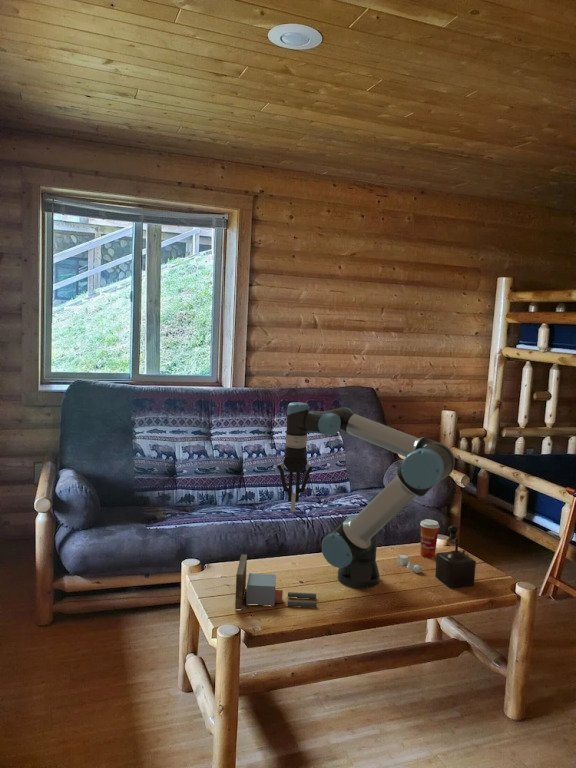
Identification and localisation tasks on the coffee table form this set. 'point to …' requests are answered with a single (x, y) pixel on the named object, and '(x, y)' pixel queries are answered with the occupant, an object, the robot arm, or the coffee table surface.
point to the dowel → (278, 596)
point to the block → (261, 589)
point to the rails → (302, 603)
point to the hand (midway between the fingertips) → (292, 510)
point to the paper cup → (429, 537)
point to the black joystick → (455, 565)
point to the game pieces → (404, 560)
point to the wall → (240, 581)
